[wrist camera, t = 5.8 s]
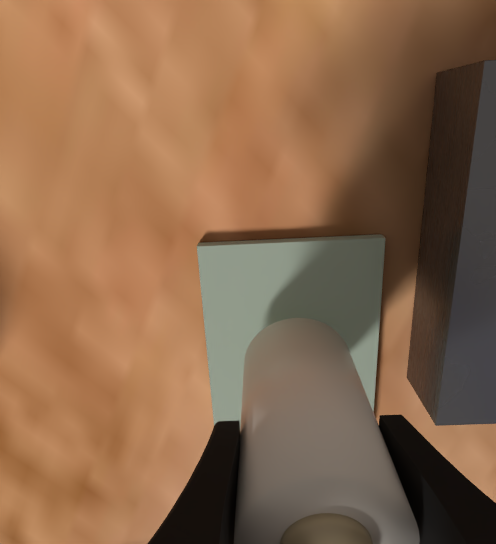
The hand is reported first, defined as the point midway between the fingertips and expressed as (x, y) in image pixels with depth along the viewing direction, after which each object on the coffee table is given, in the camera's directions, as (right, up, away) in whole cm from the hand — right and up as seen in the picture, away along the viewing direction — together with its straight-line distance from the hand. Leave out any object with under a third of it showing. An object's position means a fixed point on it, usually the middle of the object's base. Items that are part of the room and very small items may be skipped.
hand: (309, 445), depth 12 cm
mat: (0, +2, +5) cm, 6 cm away
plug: (0, +1, +4) cm, 4 cm away
